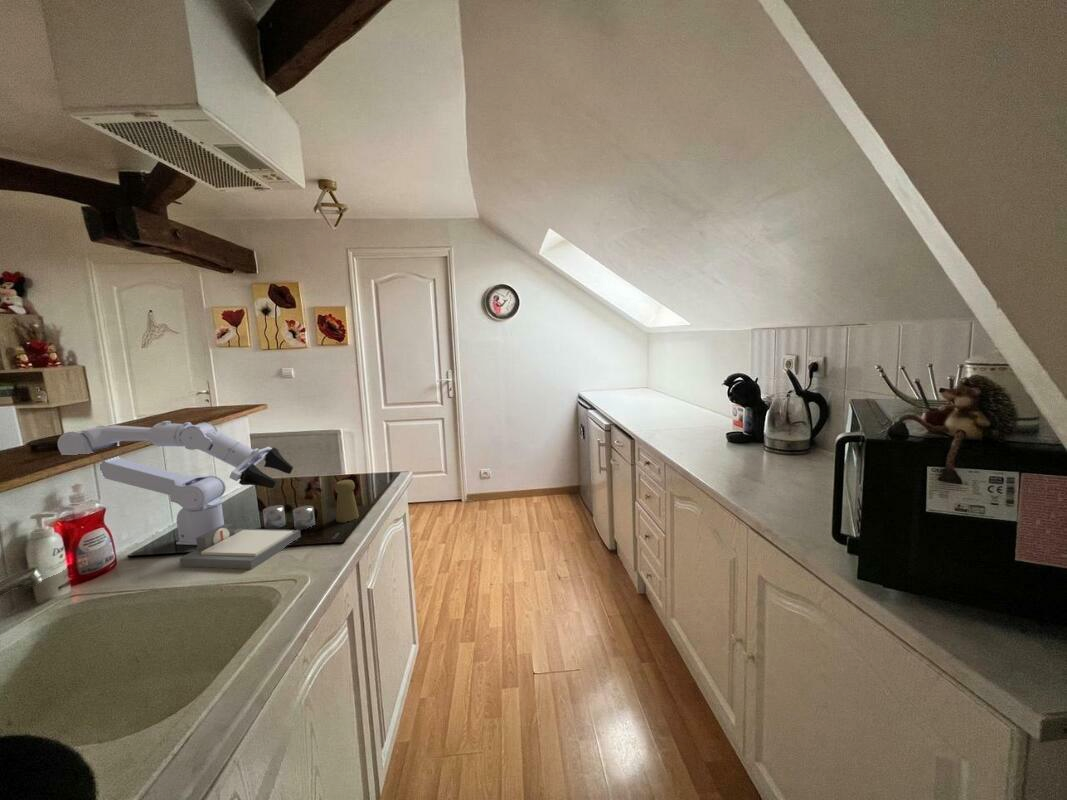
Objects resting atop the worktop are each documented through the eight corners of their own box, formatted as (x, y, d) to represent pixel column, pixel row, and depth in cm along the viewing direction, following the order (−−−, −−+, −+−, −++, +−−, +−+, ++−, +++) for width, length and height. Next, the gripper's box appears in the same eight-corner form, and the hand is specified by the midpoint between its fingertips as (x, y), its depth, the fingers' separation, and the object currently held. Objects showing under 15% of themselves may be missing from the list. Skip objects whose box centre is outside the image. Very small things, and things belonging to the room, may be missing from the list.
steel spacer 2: (290, 529, 115) (288, 512, 114) (302, 522, 119) (301, 505, 119) (307, 530, 114) (305, 512, 113) (319, 522, 119) (317, 505, 118)
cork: (363, 514, 124) (359, 477, 123) (352, 522, 118) (348, 484, 117) (343, 514, 125) (340, 477, 123) (331, 522, 119) (328, 484, 117)
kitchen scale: (180, 566, 96) (177, 543, 95) (238, 535, 112) (236, 515, 111) (251, 569, 93) (248, 545, 93) (301, 537, 109) (298, 516, 109)
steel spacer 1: (260, 529, 116) (258, 511, 115) (273, 521, 121) (272, 505, 120) (277, 529, 115) (274, 511, 115) (289, 522, 120) (288, 505, 119)
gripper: (217, 453, 101) (271, 480, 103) (256, 429, 115) (303, 453, 117) (208, 475, 103) (262, 501, 105) (248, 449, 117) (294, 472, 119)
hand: (283, 477), depth 111 cm, fingers open, 7 cm apart
